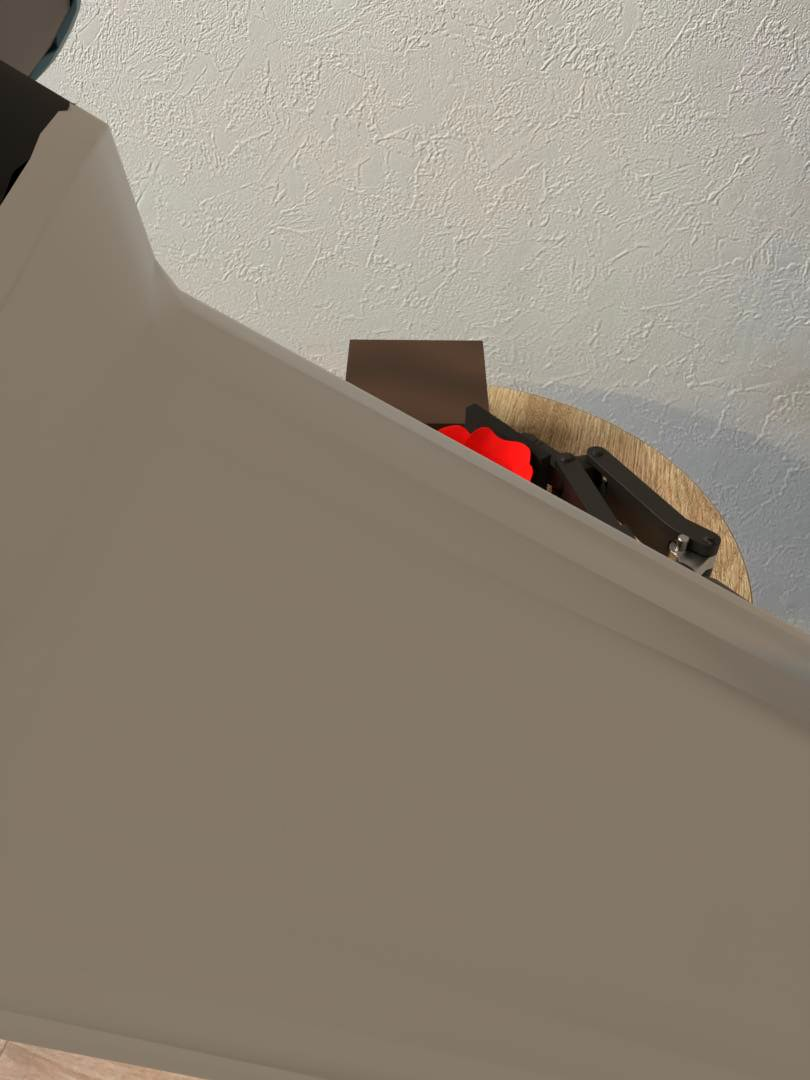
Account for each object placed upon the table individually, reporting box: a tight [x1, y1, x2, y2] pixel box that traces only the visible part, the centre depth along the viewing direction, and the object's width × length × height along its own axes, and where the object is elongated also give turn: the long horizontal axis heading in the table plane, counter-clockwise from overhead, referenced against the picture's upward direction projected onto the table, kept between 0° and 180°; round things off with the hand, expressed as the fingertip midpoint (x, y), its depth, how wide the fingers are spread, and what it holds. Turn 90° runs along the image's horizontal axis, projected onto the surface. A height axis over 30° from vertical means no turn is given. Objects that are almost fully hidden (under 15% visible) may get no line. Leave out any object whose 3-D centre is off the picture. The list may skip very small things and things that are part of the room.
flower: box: [438, 425, 533, 482], centre depth 55 cm, size 8×8×8 cm
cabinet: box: [344, 338, 490, 431], centre depth 82 cm, size 13×12×9 cm
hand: (414, 449), depth 57 cm, fingers closed on flower, 8 cm apart
